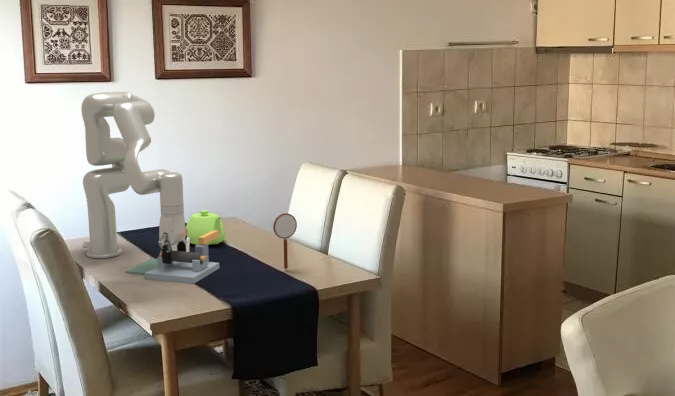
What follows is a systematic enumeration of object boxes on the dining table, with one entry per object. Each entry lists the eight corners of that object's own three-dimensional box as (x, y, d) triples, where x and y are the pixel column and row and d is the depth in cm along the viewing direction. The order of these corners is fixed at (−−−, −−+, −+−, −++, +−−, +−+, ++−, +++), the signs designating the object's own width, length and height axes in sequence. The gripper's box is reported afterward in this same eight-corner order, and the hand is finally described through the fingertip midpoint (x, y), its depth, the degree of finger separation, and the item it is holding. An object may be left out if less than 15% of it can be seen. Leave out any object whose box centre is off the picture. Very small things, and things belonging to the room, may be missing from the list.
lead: (158, 261, 249) (157, 251, 249) (163, 258, 253) (163, 248, 252) (201, 265, 244) (201, 254, 244) (207, 262, 248) (206, 252, 247)
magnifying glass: (275, 273, 249) (274, 215, 245) (273, 272, 251) (272, 214, 247) (298, 269, 253) (297, 212, 249) (296, 268, 255) (295, 211, 251)
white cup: (186, 260, 266) (185, 241, 264) (168, 259, 267) (167, 240, 266) (193, 255, 272) (192, 236, 271) (176, 254, 274) (175, 235, 272)
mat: (125, 272, 250) (125, 270, 250) (151, 260, 265) (151, 258, 265) (146, 274, 248) (146, 273, 248) (171, 262, 263) (171, 260, 263)
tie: (198, 244, 253) (198, 237, 253) (213, 236, 264) (213, 230, 263) (203, 244, 253) (203, 237, 252) (218, 237, 263) (218, 230, 263)
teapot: (238, 246, 285) (237, 212, 282) (204, 252, 275) (203, 218, 273) (209, 235, 301) (207, 204, 299) (175, 241, 292) (174, 209, 289)
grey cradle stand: (145, 278, 244) (143, 254, 242) (173, 264, 261) (172, 241, 259) (194, 283, 238) (192, 258, 237) (219, 268, 255) (218, 245, 254)
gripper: (175, 204, 255) (177, 252, 259) (148, 214, 239) (150, 265, 242) (195, 205, 253) (197, 253, 256) (168, 215, 237) (171, 267, 240)
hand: (174, 259), depth 249 cm, fingers open, 9 cm apart
